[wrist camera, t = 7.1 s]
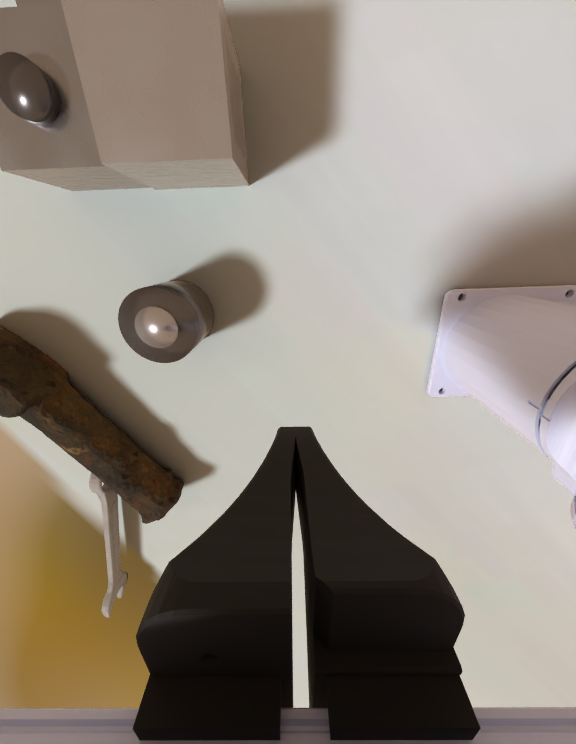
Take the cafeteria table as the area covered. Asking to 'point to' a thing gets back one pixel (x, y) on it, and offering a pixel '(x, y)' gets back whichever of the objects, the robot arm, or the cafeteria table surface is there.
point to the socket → (165, 320)
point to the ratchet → (47, 103)
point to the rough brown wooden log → (81, 428)
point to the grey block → (162, 89)
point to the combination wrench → (110, 542)
